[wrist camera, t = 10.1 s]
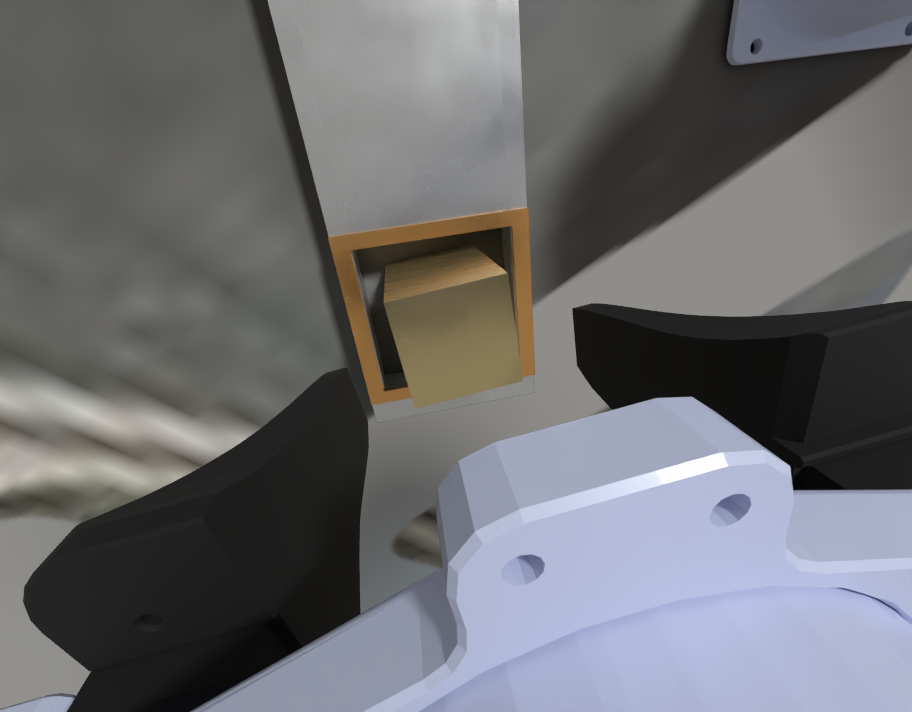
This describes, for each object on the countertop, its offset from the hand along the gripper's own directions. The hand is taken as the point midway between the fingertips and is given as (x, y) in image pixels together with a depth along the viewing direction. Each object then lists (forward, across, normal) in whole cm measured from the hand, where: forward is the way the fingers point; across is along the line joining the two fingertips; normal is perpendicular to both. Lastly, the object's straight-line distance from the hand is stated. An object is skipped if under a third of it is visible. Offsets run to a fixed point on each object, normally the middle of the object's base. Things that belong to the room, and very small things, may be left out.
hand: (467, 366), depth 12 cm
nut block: (+7, 0, 0) cm, 7 cm away
